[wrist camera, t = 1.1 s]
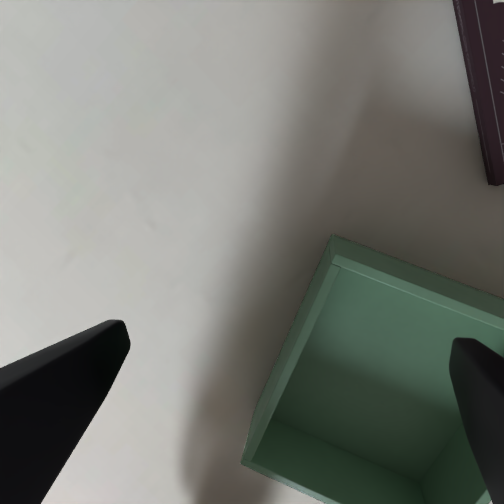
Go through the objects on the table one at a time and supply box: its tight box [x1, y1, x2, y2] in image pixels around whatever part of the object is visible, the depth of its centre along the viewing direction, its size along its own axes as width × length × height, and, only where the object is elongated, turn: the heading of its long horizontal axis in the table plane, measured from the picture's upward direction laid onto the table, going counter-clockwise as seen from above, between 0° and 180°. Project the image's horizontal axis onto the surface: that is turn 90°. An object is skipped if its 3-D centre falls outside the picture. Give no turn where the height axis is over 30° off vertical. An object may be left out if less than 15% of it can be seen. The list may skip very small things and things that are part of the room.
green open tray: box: [241, 234, 504, 504], centre depth 21 cm, size 16×14×5 cm
